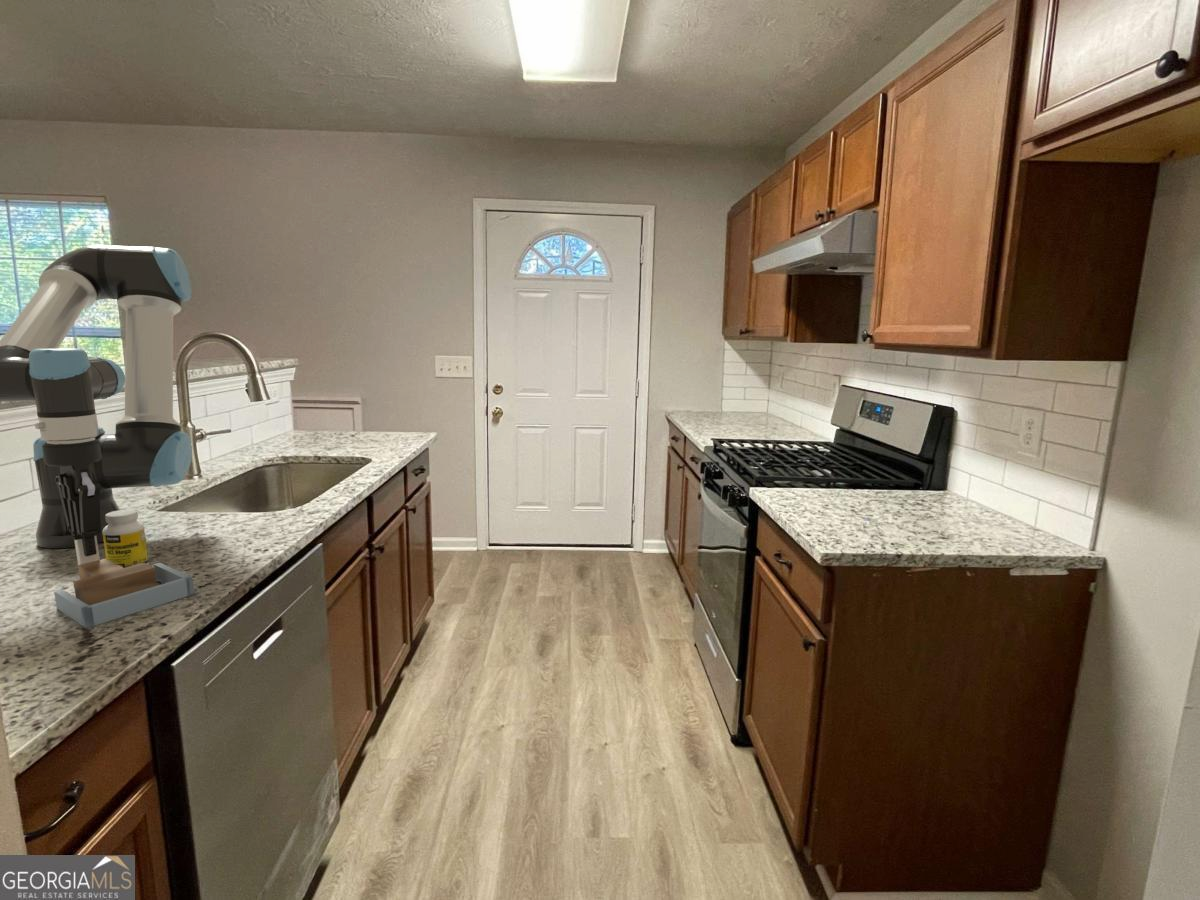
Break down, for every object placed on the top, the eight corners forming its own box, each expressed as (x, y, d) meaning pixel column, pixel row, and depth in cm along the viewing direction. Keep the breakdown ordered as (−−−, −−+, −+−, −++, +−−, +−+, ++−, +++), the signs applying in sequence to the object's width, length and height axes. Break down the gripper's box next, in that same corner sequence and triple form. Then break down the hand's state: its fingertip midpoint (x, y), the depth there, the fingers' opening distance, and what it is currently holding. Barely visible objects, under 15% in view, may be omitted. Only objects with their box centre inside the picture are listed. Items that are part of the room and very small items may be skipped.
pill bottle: (104, 577, 112) (95, 519, 110) (112, 566, 117) (103, 510, 115) (146, 572, 114) (138, 514, 112) (151, 561, 120) (144, 506, 118)
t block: (59, 592, 105) (55, 570, 104) (128, 574, 113) (125, 553, 112) (86, 610, 99) (82, 586, 98) (157, 589, 107) (154, 567, 106)
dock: (56, 608, 99) (54, 591, 99) (162, 578, 112) (160, 562, 111) (86, 628, 93) (83, 609, 92) (194, 593, 105) (192, 577, 105)
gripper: (29, 439, 105) (50, 570, 109) (56, 447, 98) (77, 586, 102) (83, 433, 111) (101, 558, 116) (113, 441, 104) (130, 572, 109)
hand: (90, 571), depth 109 cm, fingers closed
